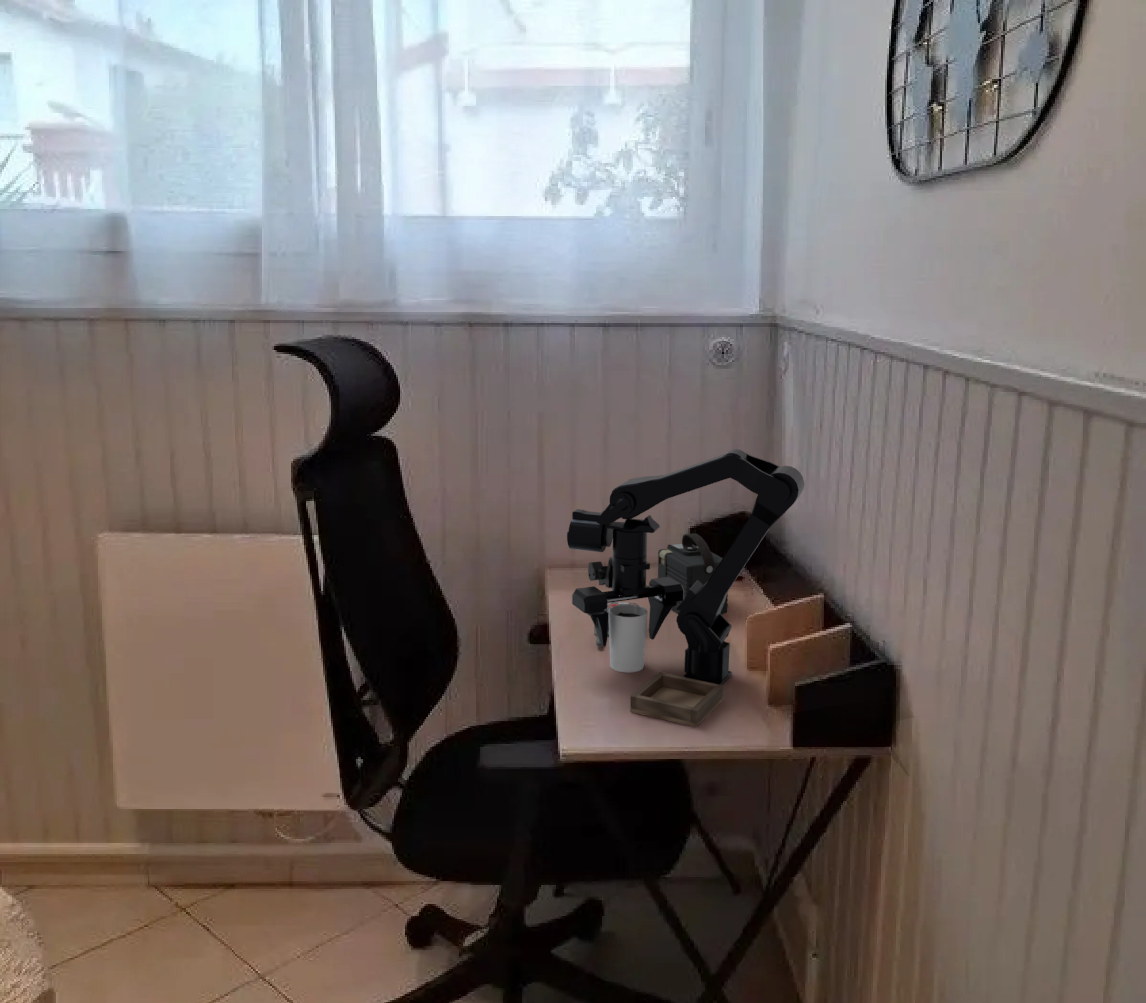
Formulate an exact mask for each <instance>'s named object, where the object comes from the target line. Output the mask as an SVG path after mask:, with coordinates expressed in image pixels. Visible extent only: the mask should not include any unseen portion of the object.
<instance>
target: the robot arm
mask: <svg viewBox="0 0 1146 1003" xmlns="http://www.w3.org/2000/svg"><path fill="white" fill-rule="evenodd" d="M727 479H732V480H734V481H736V482H737V483H739V484H740V485H741V486H743V487H744V488H746V489H747V490H749V491H750V492H752V493H754V494H756V499H755V501H754V504H753V507H752V509H751V513H750V516H749V517H748V519H747V520H746V522H745V523H744V525H743V527H742V528H741V529H740V531H739V532H738V534H737V536H736V537H735V538H734V540H733V542H732V543H731V545H730V546H729V548H728V550H727V551H726V552H725V554H724V556H723V557H722V558H723V559H722V560H721V562H720V563H719V565H718V566H717V568H716V569H715V571H714V573H713V574H712V576H711V577H710V579H709V580H708V581H707V582H706V583H705V584H704V585H703V584H702V583H701V582H700V581H699V580H697V581H696V582H695V584H694V585H693V586H692V587H691V588H690V589H689V591H688V593H687V595H686V598H685V599H684V588H683V586H682V585H681V584H680V583H678V582H677V581H675V580H673V579H671V578H670V577H663V578H658V577H657V578H651V579H650V580H649V582H648V585H647V570H648V571H649V570H650V569H651V563H650V562H648V561H647V559H648V558H647V552H648V551H647V550H648V549H647V547H648V533H649V534H654V533H655V532H656V531H657V530H658V529H660V524H659V523H658V522H657V521H655V520H654V519H653V517H652V516H651V515H647V516H646V517H644V518H643V519H640V518H636V517H638V516H640V515H642V514H643V513H645V512H647V511H648V510H650V509H652V508H653V507H655V506H657V505H659V504H660V503H662V502H664V501H665V500H668V499H670V498H673V497H677V496H679V495H683V494H685V493H688V492H692V491H695V490H698V489H701V488H704V487H706V486H710V485H713V484H716V483H719V482H722V481H724V480H727ZM804 488H805V481H804V476H803V475H802V473H801V472H800V471H799V470H798V469H797V468H795V467H792V466H789V465H781V466H780V465H777V464H775V462H774V463H773V462H772V461H769V460H766V459H763V458H759V457H756V456H754V455H751V454H749V453H747V452H745V451H744V450H741V449H737V448H735V449H731V450H729V451H728V452H726V453H724V454H721V455H718V456H714V457H713V458H709V459H705V460H704V461H703V460H702V461H700V462H697V463H695V464H692V465H689V466H686V467H683V468H680V469H677V470H675V471H671V472H669V473H666V474H660V475H646V476H641V477H636V478H635V477H634V478H633V477H632V478H630V479H627V480H626V481H624V482H622V483H621V484H620V485H618V486H617V487H615V488H614V489H613V490H612V491H611V493H610V496H609V504H608V506H606V508H605V509H604V510H603V511H602V512H600V511H599V512H597V511H589V510H585V509H579V508H577V509H575V510H574V511H572V512H571V513H572V514H571V515H572V516H571V517H572V518H571V520H570V521H569V522H570V523H569V527H568V531H567V532H566V540H567V542H566V543H567V545H568V548H569V549H571V550H578V551H588V552H597V553H604V552H605V551H606V548H609V547H611V545H612V557H608V558H609V559H608V565H603V563H602V561H600V560H599V561H591V562H588V567H587V574H588V580H589V581H590V582H593V581H598V585H599V586H603V585H604V586H605V587H606V588H608V589H611V590H608V591H602V590H600V589H599V588H597V587H596V586H595V585H594V586H586V587H579V588H575V590H574V592H573V593H572V594H571V597H572V598H571V599H572V600H571V604H572V605H573V606H574V607H575V608H577V609H578V610H579V611H581V612H583V614H587V615H588V616H589V617H590V620H592V623H593V625H594V626H595V629H596V632H597V634H598V637H599V640H600V643H601V647H603V648H606V646H607V642H608V636H607V634H608V616H609V613H608V612H606V611H605V609H606V608H607V605H608V604H610V603H612V602H625V601H630V600H639V599H647V598H648V603H649V618H648V619H649V622H648V636H649V639H650V640H651V641H652V640H655V638H656V636H657V634H658V633H659V631H660V629H661V627H662V625H663V623H664V621H665V620H666V618H667V617H668V615H669V614H670V612H671V610H673V609H672V608H673V607H674V606H677V601H682V603H681V604H680V605H679V606H678V607H677V610H680V612H679V613H677V616H676V620H675V621H676V624H677V627H678V629H679V631H680V632H681V634H683V635H684V638H685V640H686V643H687V648H686V649H685V650H684V669H683V670H684V675H683V676H682V677H686V678H690V679H695V680H700V681H705V682H709V683H714V684H719V685H723V684H724V683H725V682H726V681H727V680H728V679H729V678H730V677H732V675H733V671H730V669H729V666H730V646H731V643H730V642H727V641H725V640H726V638H728V636H729V634H730V632H731V631H732V630H731V629H732V627H733V626H732V624H731V623H730V622H729V621H728V620H727V619H726V617H725V616H724V614H721V613H720V612H721V610H722V607H723V605H724V603H725V600H726V597H727V594H728V595H729V591H730V589H731V588H732V585H734V583H735V581H736V580H737V578H738V577H739V576H740V574H741V572H742V570H743V569H744V567H745V566H746V564H747V563H748V562H749V560H750V559H751V557H752V555H753V554H754V553H755V551H756V550H757V548H758V547H759V545H760V543H761V542H762V540H763V539H764V538H765V536H766V535H767V533H768V531H769V530H770V528H771V527H772V526H774V524H775V523H776V522H778V520H779V519H780V518H781V517H782V516H784V514H786V512H787V511H788V510H789V509H790V508H791V507H792V506H793V505H794V503H795V502H796V501H797V500H798V498H799V497H800V495H802V493H803V490H804ZM620 519H622V520H625V521H618V520H620ZM727 598H728V597H727ZM597 634H596V635H597Z"/></svg>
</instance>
